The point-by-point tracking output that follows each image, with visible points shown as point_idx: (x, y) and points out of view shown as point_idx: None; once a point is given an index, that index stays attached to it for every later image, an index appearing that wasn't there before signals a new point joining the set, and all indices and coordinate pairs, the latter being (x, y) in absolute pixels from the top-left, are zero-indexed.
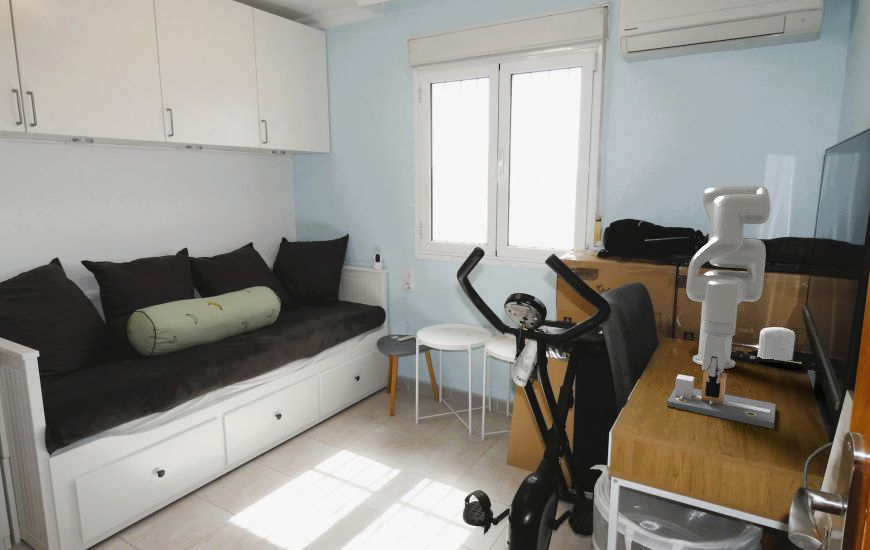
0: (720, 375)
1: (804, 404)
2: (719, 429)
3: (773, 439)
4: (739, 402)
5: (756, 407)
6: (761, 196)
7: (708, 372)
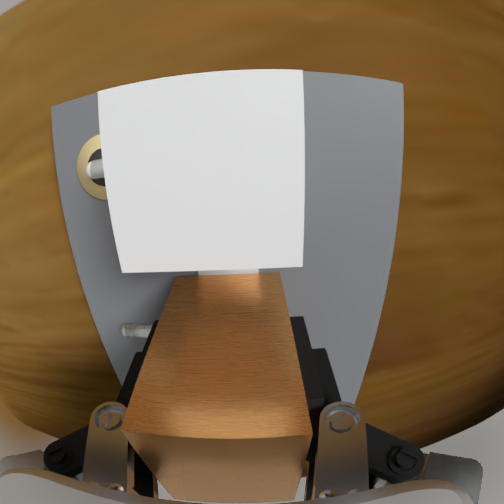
0: (209, 493)
1: None
2: (29, 335)
3: None
4: None
5: None
6: None
7: (84, 479)
